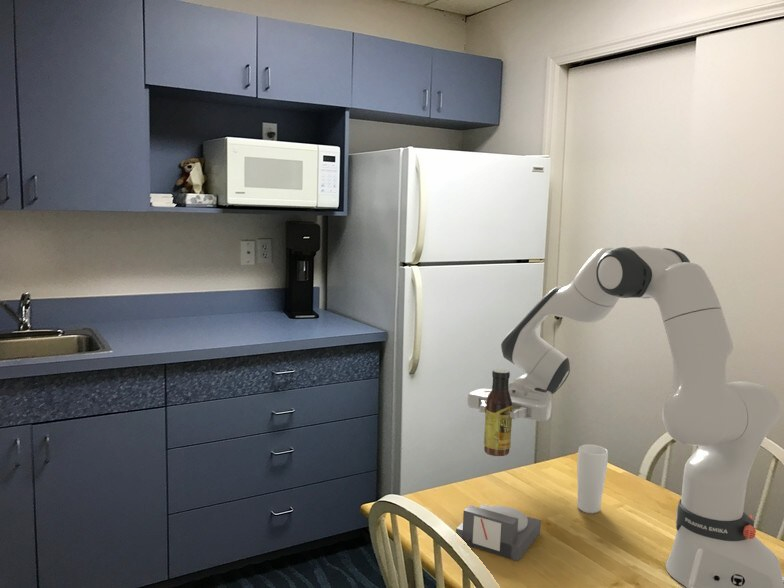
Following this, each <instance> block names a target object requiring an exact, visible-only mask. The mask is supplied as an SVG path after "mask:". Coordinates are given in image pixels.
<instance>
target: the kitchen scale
mask: <svg viewBox="0 0 784 588" xmlns="http://www.w3.org/2000/svg"><path fill="white" fill-rule="evenodd" d="M462 518H463V519H462V523H460V524H459V525H458V526H457V527H456V529H455V534H456V533H457V534H458V535H459V536H460V537H461V538H462V539H463V540H464V541H465V542H466V543H467V544H468V545H469V547H472V548H474V547H475V549H478V548H479V549H478V550H481V551H484V552H488V553H490V554H494V555H496V556H500V557H504V558H506V559H510V560H513V561H517V562H519V561H520V559H521V558H522V557H523V555H524V554H525V553H526V551H528V549H529V548H530V546H531V545H532V544H533V543H534V541H535V540H536V539H537V538H538V536H539V535H540V534H541V528H542V527H541V526H542V525H541V524H542V520H541V519H538V518H535V517H532V516H527V515H526V514H525V513H524V512H522V511H520V510H519V509H516V508H514V507H510V506H505V505H488V504H483V503H481V504H480V505H479V506H474V505H472V504H469V505H468V506H466V508H464V509H463V515H462ZM468 545H467V546H468Z"/></svg>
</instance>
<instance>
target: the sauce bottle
mask: <svg viewBox="0 0 784 588" xmlns="http://www.w3.org/2000/svg"><path fill="white" fill-rule="evenodd" d="M491 374H492V386H491V388H492V390H491V392H490V393H489V395H488V397H487V404H486V413H484V414H485V415H484V420H485V421H484V434H483V435H484V436H483V438H484V439H483V446H484V448H483V449H484V450H483V451H484V453H485V454H487V455H489V456H492V457H504V456H508V455H509V453H510V448H511V444H512V443H511V442H512V440H511V439H512V429H513V428H512V425H513V419H511V418H510V411H512V409H513V404H512V401H511V397H510V393H509V390H508V389H509V387H508V383H510V382H509V379H510V376H511V373H510V370H507V369H499V368H497V369H492V372H491Z"/></svg>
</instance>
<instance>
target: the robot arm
mask: <svg viewBox="0 0 784 588" xmlns="http://www.w3.org/2000/svg"><path fill="white" fill-rule="evenodd" d="M620 298H622V299H630V298H631V299H634V298H636V299H638V298H639V299H645V300H646V299H653V300H654V301H655V302H656V304H657V306H658V308H659V310H660V311H659V312H660V315H661V318H662V322H663V326H664V330H665V333H666V337H667V341H668V344H669V348H670V353H671V356H672V362H673V364H672V365H673V379H672V387H671V391H670V393H669V396H668V398H667V399H666V400H665V402H664V404H663V406H662V410H661V412H662V414H661V415H662V416H661V417H662V423H663V426H664V428H665V430H666V432H667V434H668V435H669V436H670V437H671V438H672V439H673V440H674V441H675V442H676V443H678V444H681V445H686V446H695V447H696V446H697V448H696V450H695V451H694V453H693V454H692V455H691V456H690V457H688V459H687V461H686V463H685V465H684V469H683V478H682V487H681V498H680V499H679V501H678V504H677V508H676V515H675V516H676V518H675V524H676V525H675V527H676V533H675V537H674V541H673V543H672V548H671V551H670V553H669V556H668V558H667V561H666V562H665V569H666V571H667V573H668V574H669V575H670V577H671V578H673V579H674V580H675V581H677V582H678V583H680V584H681V585H683V586H684V587H685V588H784V575H783V571H782V568H781V567H782V566H781V565H780V561H779V559H778V557H777V555H776V554H775V553H774V552H773V551H772V550H771V549H770V548H769V547H768V546H766V545H765V544H764V543H763V542H762V541H761V540H760V539H759V538H758V537H757V536H756V532H757V530H756V528H755V521H754V520H753V519H754V518H753V515H752V514H751V513H750V515H748V514H746V512H744V507H745V499H746V493H747V485H748V480H749V475H750V472H751V469H752V466H753V464H754V462H755V459H756V458H757V455H758V452H759V450H760V448H761V446H762V443H763V442H764V440H765V438H766V436H767V435H768V434H769V432H770V431H771V430H772V429H773V428H774V426H776V424H777V423H778V422H779V419H780V416H781V407H780V403H779V400H778V397H777V396H776V394H775V393H774V392H773V391H772V390H771V389H770V388H768V387H767V386H765V385H763V384H761V383H758V382H757V383H756V382H751V381H742V380H739V381H731V382H727V377H726V365H727V361H728V358H729V357H730V356H731V354H732V352H733V349H734V348H733V347H734V345H733V341H732V337H731V335H730V334H731V333H730V331H729V328H728V325H727V321H726V319H725V316H724V313H723V312H724V311H723V309H722V306H721V303H720V301H719V297H718V296H717V293H716V290H715V289H714V286H713V284H712V282H711V280H710V278H709V277H708V275H707V273H706V272H705V269H703V267H702V266H700V265H699V264H697V263H695V262H691V261H690V259H689V258H688V257H687V255H685V254H684V253H682V252H680V251H678V250H676V249H672V248H667V247H664V248H659V247H650V246H632V247H627V246H626V247H625V246H623V247H617V248H614V247H610V246H609V247H602V248H600V249H597V250H596V251H595V252H593V254H592V255H591V256H590V257H589V258H588V259H587V261H586V262H585V263H584V264H583V265H582V266H581V268H580V269H579V271H578V272H577V273H576V275H575V277H574V278H573V279H572V281H570V283H569V284H568V285H566V286H565V285H564V286H561V285H560V286H555V287H553V288H552V289H551V290H549V291H548V292H547V293H546V294H544V296H543V297H542V298H541V299H540V300H539V301H537V303H536V304H535V305H534V306H533V308H531V310H530V311H529V312H528V313H527V315H526V316H524V317H523V319H522V320H520V322H519V323H518V324H517V325H516V326H515V327H513V328H512V329H511V330H510V331H509V332H508V333H507V334H506V335H505V336H504V338H503V339H502V341H501V344H500V346H501V347H500V349H501V353H502V357H503V358H504V359H506V360H507V361H509V362H510V363H512V364H513V365H515V366H517V367H518V368H519V369H520V370H522V371H523V374H522V375H519V376H518V377H517V378H516V379H514V380H513V379H512V380H511V381H510V382H509V383H508V387H509V389H508V390H509V393H510V397H511V401H512V404H513V409H512V411H510V418H511V419H512V420H517V419H518V418H519V419H520V418H522V419H527V420H533V421H537V422H548V420H549V419H550V418H551V412H552V403H553V398H552V397H553V396H552V395H554V394H555V393H556V392H557V391H558V390H559V389H560V388H561V387H562V386H563V384H564V383H565V381H567V379H568V378H569V375H570V371H571V366H570V360H569V358H568V357H567V356H566V355H565V354H563V353H562V352H561V351H559V350H558V348H556V347H554V346H553V345H551V344H550V343H548V342H547V341H546V340H544V339H543V338H542V337H541V336H539V335H538V333H537V331H536V329H537V328H538V327H539V326H540V325H541V324H542V323H543V322H544V321H545V320H546V319H547V317H548V316H549V317H550V316H555V317H560V318H563V319H567V320H569V321H572V322H575V323H582V324H593V323H597V322H598V321H599V322H600V321H601V320H603V319H604V318H606V316H607V315H608V314H609V313H610V312H611V310H612V309H613V308H614V307H615V306H616V304H617V303H618V301H619V299H620ZM491 390H492V389H490V388H483V387H482V388H477V389H475V390H472V391H470V392H468V394H467V406H468V408H471V409H476V410H479V413H481V414H486V404H487V397H488V395H489V393H490V392H491Z"/></svg>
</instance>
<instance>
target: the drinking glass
mask: <svg viewBox="0 0 784 588" xmlns="http://www.w3.org/2000/svg"><path fill="white" fill-rule="evenodd" d="M577 451H578V452H577V460H576V461H577V463H576V464H577V465H576V466H577V469H576V470H577V471H576V472H577V473H576V474H577V479H576V480H577V501H576V502H577V505H576V506H577V509H578V510H580V512H583V513H586V514H596V513H599V512H600V511H601V507H602V506H601V505H602V504H601V503H602V498H603V497H602V496H603V493H604V492H603V491H604V485H605V481H606V475H607V468H608V460H609V459H608V458H609V455H608V454H609V452H608V449H606V448H605V447H603V446H600V445H597V444H582V445H580V446H578V450H577Z"/></svg>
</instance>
